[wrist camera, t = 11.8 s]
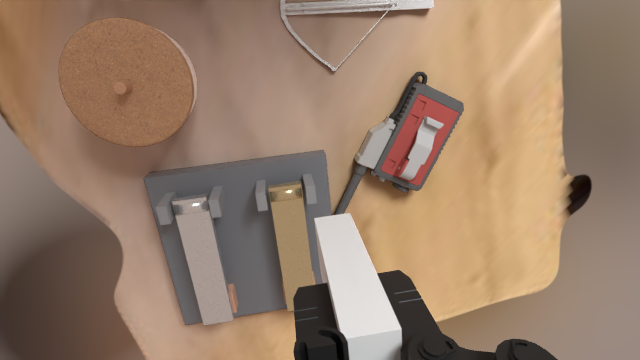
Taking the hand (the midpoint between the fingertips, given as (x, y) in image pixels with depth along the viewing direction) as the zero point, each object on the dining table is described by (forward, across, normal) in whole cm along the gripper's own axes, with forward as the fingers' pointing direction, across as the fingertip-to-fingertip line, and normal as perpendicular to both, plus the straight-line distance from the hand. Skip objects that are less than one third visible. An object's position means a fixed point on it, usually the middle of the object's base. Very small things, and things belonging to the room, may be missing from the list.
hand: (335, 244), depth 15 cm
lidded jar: (+28, -14, +6) cm, 32 cm away
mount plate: (+28, -7, -14) cm, 32 cm away
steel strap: (+24, -12, -14) cm, 30 cm away
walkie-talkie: (+29, +11, -6) cm, 31 cm away
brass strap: (+24, -2, -14) cm, 28 cm away
